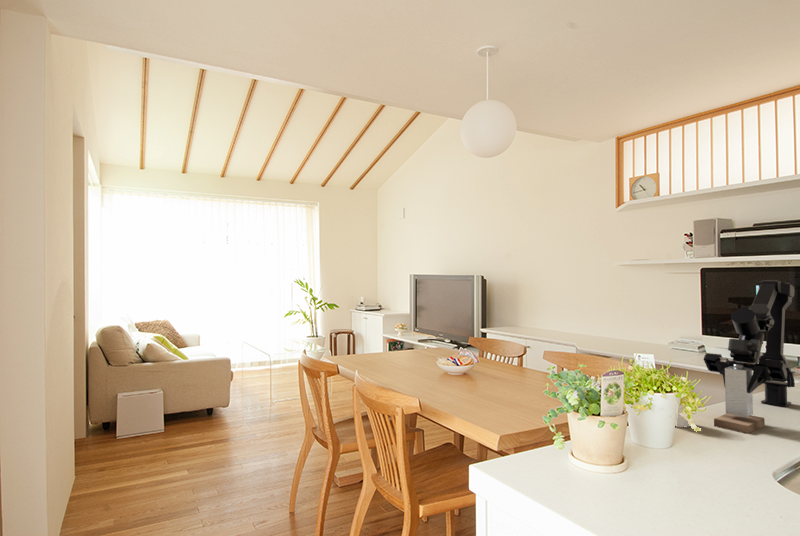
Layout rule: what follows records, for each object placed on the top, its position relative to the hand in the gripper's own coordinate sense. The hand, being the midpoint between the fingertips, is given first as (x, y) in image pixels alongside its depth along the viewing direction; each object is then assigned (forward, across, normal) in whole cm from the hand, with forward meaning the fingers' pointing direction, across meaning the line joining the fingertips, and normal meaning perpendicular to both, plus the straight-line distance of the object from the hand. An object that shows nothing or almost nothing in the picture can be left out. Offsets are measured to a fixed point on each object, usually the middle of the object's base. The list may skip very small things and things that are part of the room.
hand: (737, 390), depth 133 cm
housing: (+4, 0, +6) cm, 7 cm away
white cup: (+14, -12, 0) cm, 18 cm away
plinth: (+6, 0, +8) cm, 10 cm away
